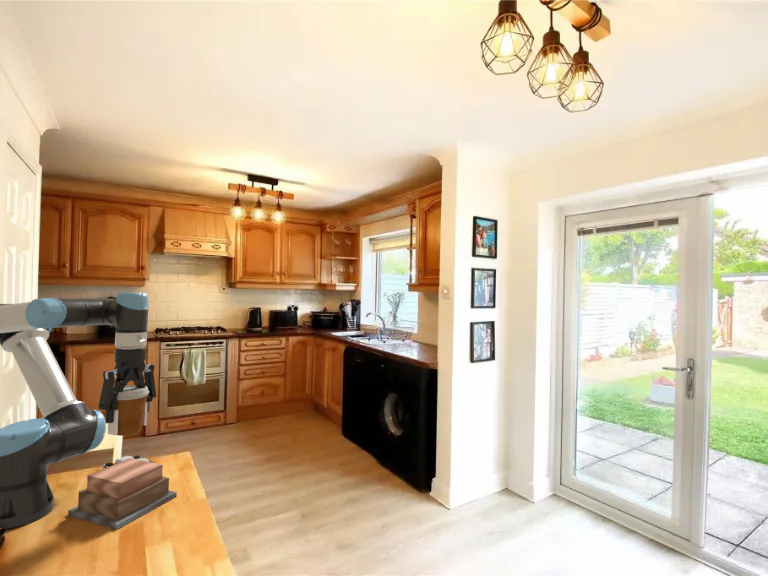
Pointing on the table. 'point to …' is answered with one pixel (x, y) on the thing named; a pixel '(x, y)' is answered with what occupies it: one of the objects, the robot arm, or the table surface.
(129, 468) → the pink brown stepped block
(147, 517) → the table surface
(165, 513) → the table surface
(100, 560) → the table surface
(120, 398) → the disposable coffee cup
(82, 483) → the table surface
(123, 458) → the robot toy
